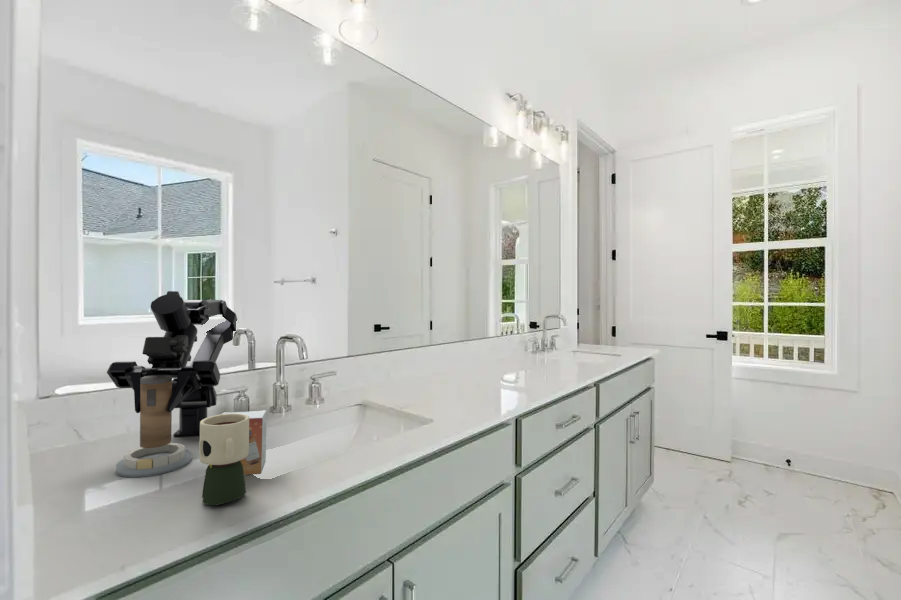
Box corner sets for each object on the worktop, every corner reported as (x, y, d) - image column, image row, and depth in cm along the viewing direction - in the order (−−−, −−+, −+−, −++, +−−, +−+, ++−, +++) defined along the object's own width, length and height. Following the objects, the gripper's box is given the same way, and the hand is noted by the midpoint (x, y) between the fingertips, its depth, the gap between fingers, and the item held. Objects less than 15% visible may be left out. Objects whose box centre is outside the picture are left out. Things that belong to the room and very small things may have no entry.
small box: (213, 478, 78) (214, 419, 77) (221, 466, 83) (222, 411, 83) (262, 474, 80) (262, 417, 80) (266, 462, 85) (267, 409, 85)
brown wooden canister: (145, 440, 85) (146, 375, 85) (174, 438, 86) (175, 374, 86) (134, 450, 80) (134, 381, 79) (165, 447, 81) (166, 379, 81)
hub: (134, 455, 88) (134, 442, 88) (199, 451, 90) (200, 439, 90) (102, 480, 76) (102, 465, 76) (178, 474, 79) (178, 460, 79)
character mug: (195, 492, 72) (196, 414, 72) (242, 482, 76) (243, 408, 76) (202, 520, 63) (203, 432, 63) (254, 507, 67) (256, 424, 67)
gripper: (112, 320, 85) (76, 389, 74) (216, 321, 89) (196, 386, 78) (132, 355, 92) (102, 421, 82) (227, 354, 96) (210, 417, 86)
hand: (152, 411), depth 82 cm, fingers closed on brown wooden canister, 5 cm apart
